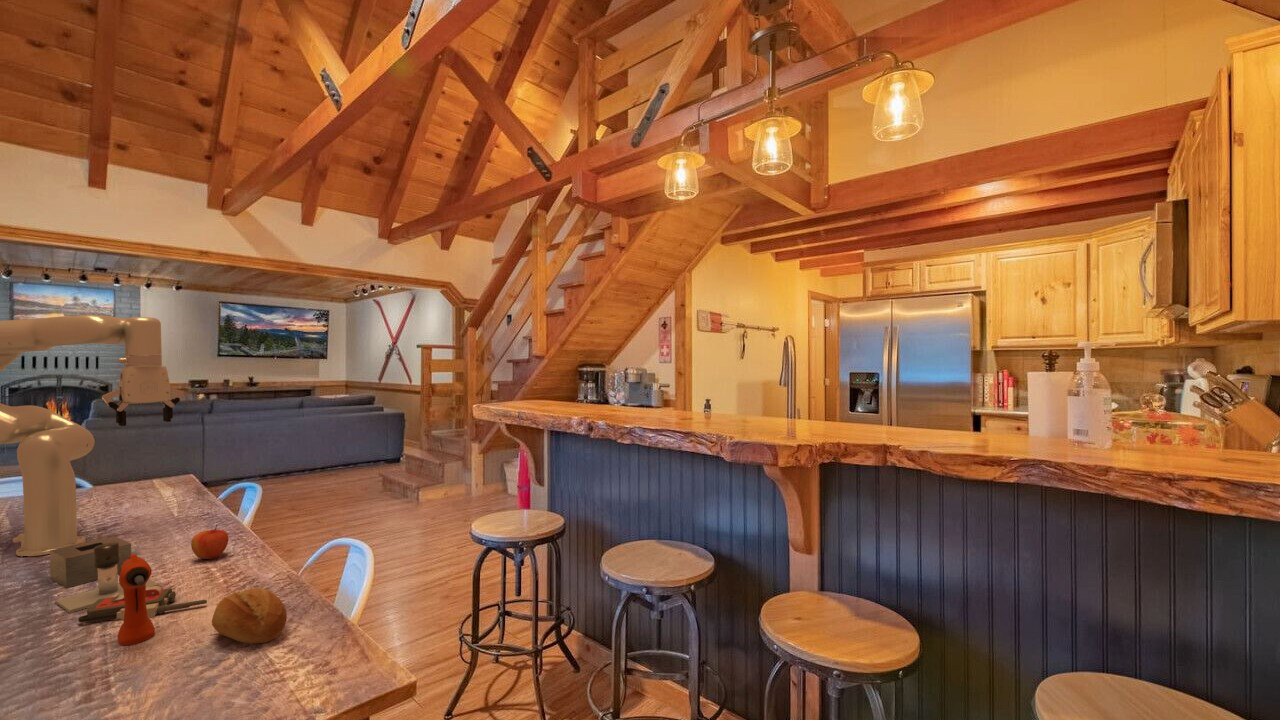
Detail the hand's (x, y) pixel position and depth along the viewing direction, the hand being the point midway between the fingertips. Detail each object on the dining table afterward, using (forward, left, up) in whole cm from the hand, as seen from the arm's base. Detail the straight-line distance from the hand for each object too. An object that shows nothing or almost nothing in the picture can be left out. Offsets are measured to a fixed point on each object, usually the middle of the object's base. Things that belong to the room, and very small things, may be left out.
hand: (145, 423), depth 152 cm
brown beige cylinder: (+22, -36, -32) cm, 53 cm away
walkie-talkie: (+37, -43, -33) cm, 66 cm away
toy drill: (+47, -57, -32) cm, 81 cm away
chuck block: (+8, -24, -32) cm, 41 cm away
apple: (+29, -16, -32) cm, 46 cm away
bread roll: (+65, -55, -33) cm, 91 cm away
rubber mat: (+22, -36, -32) cm, 53 cm away
